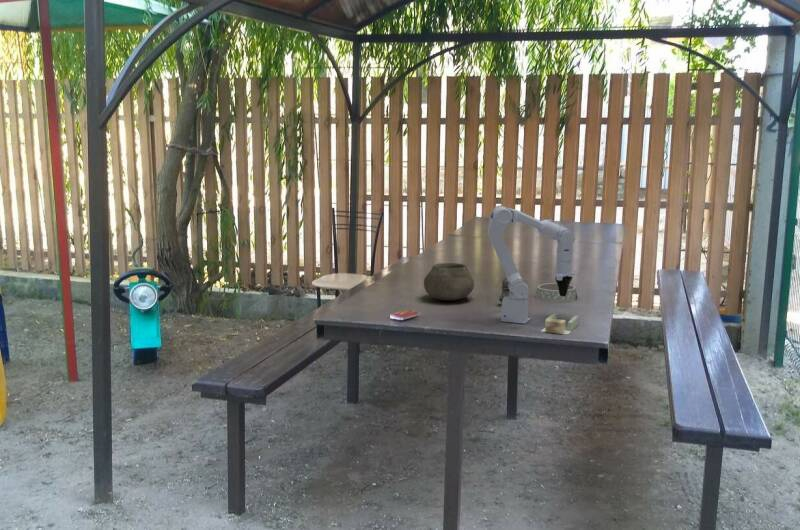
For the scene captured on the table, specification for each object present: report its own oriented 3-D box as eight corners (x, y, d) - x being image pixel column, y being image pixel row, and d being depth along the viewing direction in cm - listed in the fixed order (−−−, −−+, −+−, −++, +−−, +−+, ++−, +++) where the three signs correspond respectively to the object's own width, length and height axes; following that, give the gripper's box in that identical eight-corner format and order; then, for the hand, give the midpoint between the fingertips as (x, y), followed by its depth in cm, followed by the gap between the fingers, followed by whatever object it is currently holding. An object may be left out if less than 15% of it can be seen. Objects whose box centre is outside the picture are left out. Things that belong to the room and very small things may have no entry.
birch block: (545, 332, 276) (545, 321, 276) (548, 329, 280) (549, 318, 280) (562, 333, 274) (562, 322, 273) (565, 330, 278) (565, 320, 277)
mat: (540, 331, 278) (540, 331, 278) (544, 328, 282) (544, 327, 282) (568, 334, 274) (568, 334, 274) (571, 331, 278) (571, 330, 278)
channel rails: (544, 327, 283) (545, 319, 282) (552, 321, 293) (552, 313, 292) (571, 330, 279) (571, 322, 278) (578, 323, 288) (578, 315, 288)
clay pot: (415, 297, 334) (415, 262, 331) (458, 292, 343) (458, 259, 340) (438, 307, 315) (438, 271, 312) (483, 302, 323) (484, 267, 321)
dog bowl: (533, 302, 325) (533, 289, 324) (538, 293, 342) (538, 281, 341) (574, 304, 320) (575, 291, 319) (578, 295, 338) (578, 283, 337)
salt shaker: (510, 307, 314) (511, 278, 312) (496, 306, 316) (497, 277, 314) (514, 304, 320) (514, 275, 317) (500, 303, 322) (500, 274, 320)
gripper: (570, 264, 282) (569, 300, 284) (579, 258, 295) (578, 293, 297) (551, 262, 285) (550, 298, 287) (561, 256, 298) (559, 291, 300)
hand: (563, 295), depth 292 cm, fingers closed
